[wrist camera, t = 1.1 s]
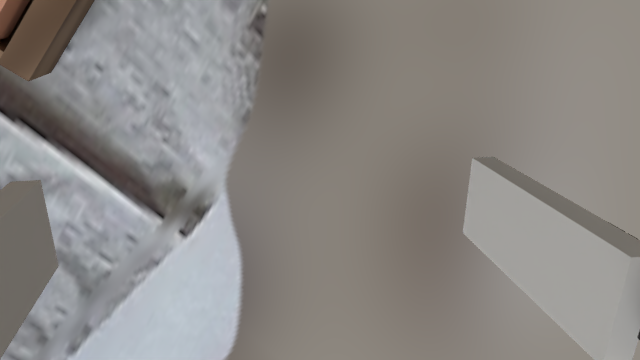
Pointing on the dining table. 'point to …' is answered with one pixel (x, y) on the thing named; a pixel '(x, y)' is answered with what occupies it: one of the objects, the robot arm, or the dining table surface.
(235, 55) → the dining table surface
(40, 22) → the key strip
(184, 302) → the dining table surface
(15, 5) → the tile one
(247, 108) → the dining table surface
